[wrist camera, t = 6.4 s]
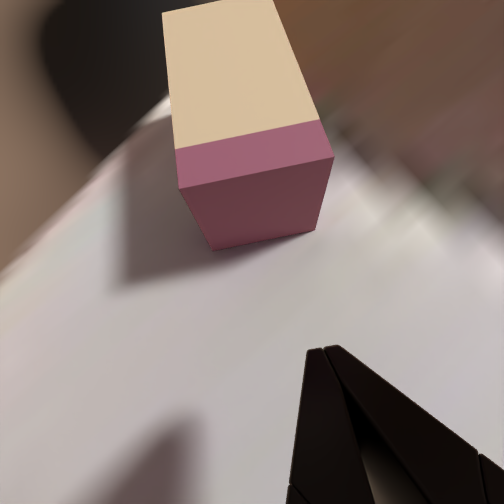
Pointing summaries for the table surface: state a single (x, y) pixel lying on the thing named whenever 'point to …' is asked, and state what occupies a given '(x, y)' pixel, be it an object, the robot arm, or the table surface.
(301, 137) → the marked block
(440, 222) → the table surface
